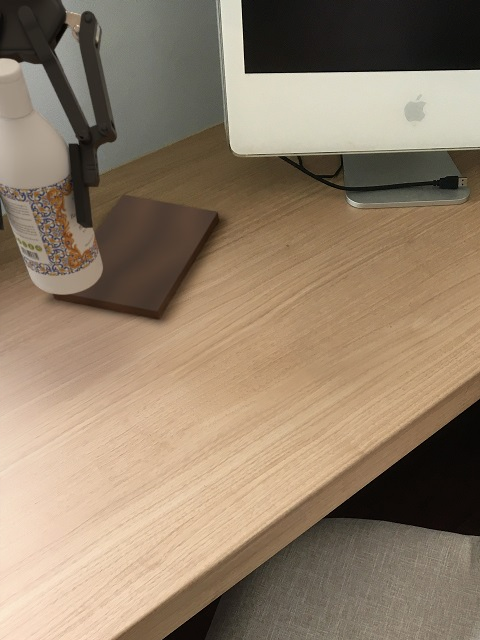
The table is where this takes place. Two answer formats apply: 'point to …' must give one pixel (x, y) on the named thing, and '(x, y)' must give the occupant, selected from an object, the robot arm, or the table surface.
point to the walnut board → (145, 255)
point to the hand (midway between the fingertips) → (39, 225)
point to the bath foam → (41, 193)
